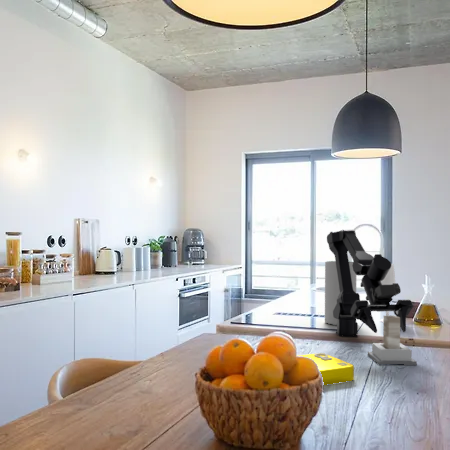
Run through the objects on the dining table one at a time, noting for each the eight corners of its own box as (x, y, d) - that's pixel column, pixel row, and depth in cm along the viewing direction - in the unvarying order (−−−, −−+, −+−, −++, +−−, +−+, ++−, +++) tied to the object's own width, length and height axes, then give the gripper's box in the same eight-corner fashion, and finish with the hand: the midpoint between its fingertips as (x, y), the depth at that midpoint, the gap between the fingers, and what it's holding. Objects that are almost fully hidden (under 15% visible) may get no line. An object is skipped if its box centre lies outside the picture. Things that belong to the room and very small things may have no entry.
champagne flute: (399, 322, 211) (399, 264, 211) (386, 323, 209) (386, 264, 208) (388, 319, 217) (388, 263, 217) (375, 320, 215) (376, 263, 215)
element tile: (277, 373, 139) (277, 355, 139) (323, 367, 146) (323, 350, 146) (308, 389, 126) (309, 370, 126) (357, 382, 132) (357, 364, 132)
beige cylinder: (383, 355, 154) (383, 315, 154) (393, 354, 154) (394, 315, 154) (388, 358, 150) (389, 317, 150) (399, 357, 151) (400, 317, 151)
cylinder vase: (353, 320, 213) (354, 261, 213) (358, 326, 201) (358, 263, 201) (323, 320, 215) (323, 260, 214) (326, 325, 202) (326, 263, 202)
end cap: (378, 364, 147) (378, 351, 147) (367, 355, 158) (367, 342, 158) (416, 365, 147) (416, 351, 147) (402, 355, 158) (402, 342, 158)
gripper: (354, 274, 156) (370, 317, 146) (410, 274, 159) (430, 315, 149) (344, 296, 164) (358, 338, 153) (398, 295, 167) (415, 336, 156)
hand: (390, 331), depth 153 cm, fingers open, 9 cm apart
